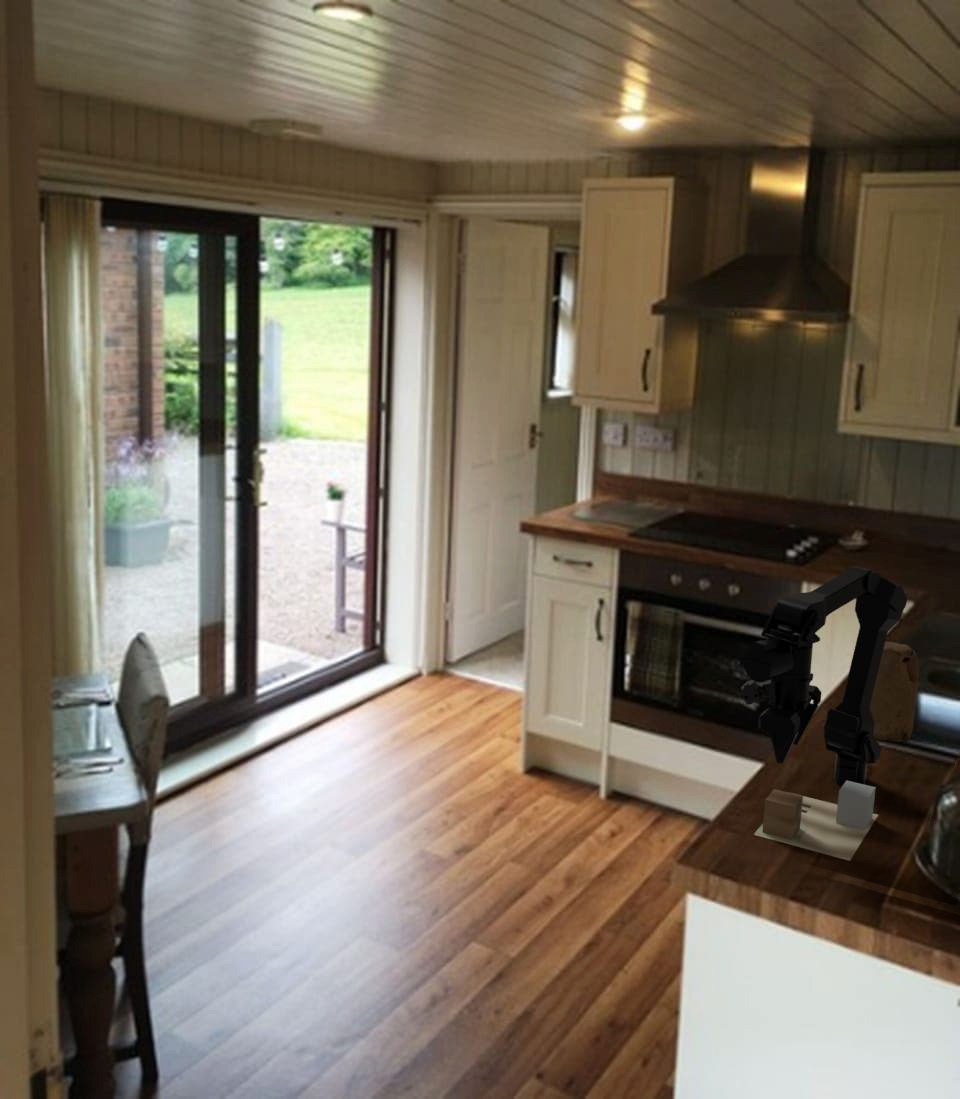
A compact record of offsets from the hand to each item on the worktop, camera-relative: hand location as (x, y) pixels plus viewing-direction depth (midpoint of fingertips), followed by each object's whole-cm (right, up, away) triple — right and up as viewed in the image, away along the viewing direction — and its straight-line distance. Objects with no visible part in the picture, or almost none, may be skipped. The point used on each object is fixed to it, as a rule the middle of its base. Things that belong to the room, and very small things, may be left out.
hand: (787, 753), depth 200 cm
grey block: (+11, -11, -2) cm, 16 cm away
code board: (+4, -13, -3) cm, 14 cm away
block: (+31, -4, +40) cm, 51 cm away
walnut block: (-3, -12, -6) cm, 14 cm away
